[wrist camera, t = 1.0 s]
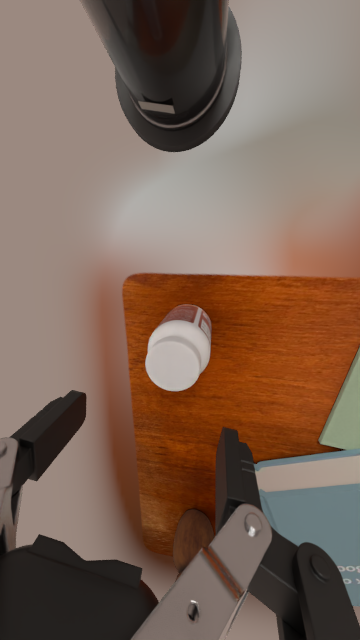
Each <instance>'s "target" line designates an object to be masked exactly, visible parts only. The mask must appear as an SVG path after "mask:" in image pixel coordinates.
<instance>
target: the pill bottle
mask: <svg viewBox="0 0 360 640" xmlns="http://www.w3.org/2000/svg"><path fill="white" fill-rule="evenodd" d="M210 351H211V321H210V319H209V317H208V315H207V314H206V312H204V311H203V310H202V309H201V308H199V307H197V306H194V305H189V304H185V305H180V306H177V307H175V308H174V309H172V310H171V311H170V312H169V313H168V314H167V316H166V317H165V318H164V319H163V321H162V322H161V323H160V324H159V326H158V327H157V328H156V329H155V331H154V332H153V334H152V335H151V337H150V340H149V343H148V354H147V357H146V362H145V366H146V371H147V373H148V376H149V377H150V379H151V380H152V381H153V382H154V383H155V384H156V385H157V386H159V387H161V388H163V389H165V390H169V391H181V390H185V389H187V388H189V387H191V386H192V385H193V384H194V383H195V382H196V380H197V379H198V377H199V374H200V373H201V372H202V371H203V370H204V369H205V368H206V366H207V364H208V362H209V359H210Z"/></svg>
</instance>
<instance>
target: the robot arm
mask: <svg viewBox="0 0 360 640" xmlns="http://www.w3.org/2000/svg"><path fill="white" fill-rule="evenodd" d="M80 2H81V3H82V5H83V7H84V9H85V11H86V13H87V15H88V17H89V19H90V20H91V22H92V24H93V26H94V28H95V30H96V32H97V34H98V35H99V37H100V39H101V41H102V43H103V45H104V46H105V48H106V50H107V52H108V54H109V56H110V58H111V60H112V62H113V63H114V65H115V67H116V69H117V71H118V73H119V75H120V77H121V79H122V80H123V82H124V84H125V86H126V88H127V90H128V92H129V95H130V97H131V99H132V101H133V103H134V105H135V107H136V109H137V110H138V112H139V113H140V115H141V116H142V117H143V118H144V119H145V120H146V121H147V122H148V123H149V124H151V125H152V126H154V127H156V128H158V129H161V130H165V131H179V130H183V129H186V128H189V127H191V126H193V125H194V124H196V123H197V122H199V121H200V120H201V119H202V118H203V117H204V116H205V115H206V114H207V113H208V112H209V111H210V109H211V108H212V107H213V105H214V104H215V102H216V100H217V98H218V96H219V94H220V92H221V89H222V86H223V83H224V79H225V74H226V67H227V24H228V5H229V4H228V3H229V0H80ZM85 417H86V394H85V393H83V392H78V391H74V390H72V391H70V392H69V393H68V394H67V395H66V396H65V397H64V398H62V397H60V398H57V399H55V400H53V401H51V402H50V403H49V404H48V405H46V406H45V407H44V408H43V410H41V411H40V412H38V413H37V414H36V416H34V417H33V418H31V419H30V420H29V421H28V422H27V423H26V424H24V426H22V427H21V428H20V429H19V430H18V431H17V432H15V433H14V434H13V435H12V436H11V437H9V438H1V439H0V640H225V639H226V636H227V635H228V633H229V631H230V629H231V627H232V625H233V623H234V621H235V619H236V617H237V615H238V613H239V611H240V609H241V607H242V605H243V603H244V601H245V599H246V597H247V595H248V593H249V592H250V593H251V594H252V595H253V596H255V597H256V598H257V599H258V600H260V601H261V602H262V603H263V604H264V605H266V606H267V607H268V608H269V609H271V610H272V611H273V612H274V613H276V617H277V625H278V633H279V640H360V626H359V623H358V620H357V617H356V615H355V612H354V609H353V606H352V603H351V600H350V598H349V595H348V592H347V589H346V586H345V584H344V581H343V578H342V575H341V573H340V571H339V569H338V567H337V566H336V564H335V562H334V561H333V560H332V558H331V557H330V556H329V555H328V554H327V553H326V552H325V551H324V550H323V549H321V548H320V547H319V546H317V545H315V544H313V543H310V542H304V543H301V544H300V545H299V547H298V546H297V545H295V544H294V543H292V542H291V541H289V540H288V539H286V538H285V537H283V536H282V535H280V534H279V533H278V532H277V531H276V530H274V528H273V527H272V526H271V525H270V523H269V521H268V519H267V517H266V516H265V515H264V513H263V510H262V506H261V500H260V495H259V489H258V484H257V478H256V474H255V467H254V462H253V456H252V452H251V451H250V449H249V447H248V446H247V444H246V443H242V442H239V439H238V432H237V430H234V429H230V428H226V427H223V429H222V432H221V436H220V440H219V444H218V448H217V454H216V536H215V538H214V539H213V540H212V542H211V543H210V544H209V546H208V547H203V548H202V549H201V550H200V551H199V552H198V553H197V554H196V556H195V557H194V558H193V560H192V561H191V562H190V563H189V565H188V566H187V567H186V569H185V570H184V571H183V572H182V574H181V575H180V576H179V578H178V579H177V580H176V581H175V583H174V584H173V585H172V587H171V588H170V589H169V591H168V592H167V593H166V594H165V596H164V597H163V598H162V599H161V601H160V602H158V600H157V598H156V597H155V595H154V593H153V592H152V590H151V589H150V588H149V587H148V586H147V585H146V584H145V583H144V582H143V581H142V580H141V574H142V568H140V567H137V566H134V565H131V564H128V563H124V562H121V561H118V560H96V561H86V560H83V559H82V558H81V557H80V556H79V555H77V554H76V553H75V552H74V551H73V550H72V549H71V548H69V547H68V546H67V545H66V544H65V543H64V542H61V541H58V540H55V539H52V538H49V537H46V536H43V535H40V534H39V535H38V537H37V539H36V540H35V542H34V543H33V545H26V546H22V547H19V548H16V531H17V524H18V517H19V510H20V503H21V496H22V490H23V486H22V485H23V484H24V483H25V482H26V481H27V479H31V480H34V481H38V479H39V478H40V477H41V476H42V474H43V473H44V472H45V471H46V469H47V468H48V467H49V466H50V464H51V463H52V462H53V460H54V459H55V458H56V457H57V455H58V454H59V453H60V452H61V451H62V449H63V448H64V447H65V446H66V444H67V443H68V442H69V441H70V440H71V438H72V437H73V436H74V435H75V433H76V432H77V431H78V430H79V428H80V427H81V426H82V424H83V422H84V420H85Z"/></svg>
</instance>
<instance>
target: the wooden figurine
mask: <svg viewBox="0 0 360 640" xmlns="http://www.w3.org/2000/svg"><path fill="white" fill-rule="evenodd" d="M214 538H215V537H214V533H213V529H212V526H211V523H210V520H209V519H208V518H207V516H206V515H205V514H204V513H202V512H201V511H199V510H196V509H191V510H187V511H186V512H185V513H184V514H183V516H182V517H181V519H180V521H179V523H178V526H177V530H176V534H175V539H174V545H173V560H174V563H175V567H176V569H177V570H178V572H179V574H178V576H177V578H176V580H177V579H178V578H179V576H180V575H181V574H182V572H183V571H184V570H185V569H186V567H187V566H188V565H189V563H190V562H191V561H192V560H193V558H194V557H195V556H196V554H197V553H198V552H199V551H200V550H201V549H202V548H203V547H208V546H209V544H210V543H211V542H212V540H213V539H214Z"/></svg>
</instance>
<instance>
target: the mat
mask: <svg viewBox="0 0 360 640" xmlns="http://www.w3.org/2000/svg"><path fill="white" fill-rule="evenodd" d="M318 441H319V443H320V444H324V445H328V446H332V447H336V448H340V449H345V450H352V449H360V347H359V349H358V352H357V354H356V356H355V358H354V361H353V363H352V365H351V368H350V370H349V372H348V374H347V377H346V379H345V381H344V383H343V386H342V388H341V390H340V392H339V395H338V397H337V399H336V402H335V404H334V406H333V408H332V411H331V413H330V415H329V417H328V420H327V422H326V424H325V426H324V429H323V431H322V433H321V435H320V438H319V440H318Z"/></svg>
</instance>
